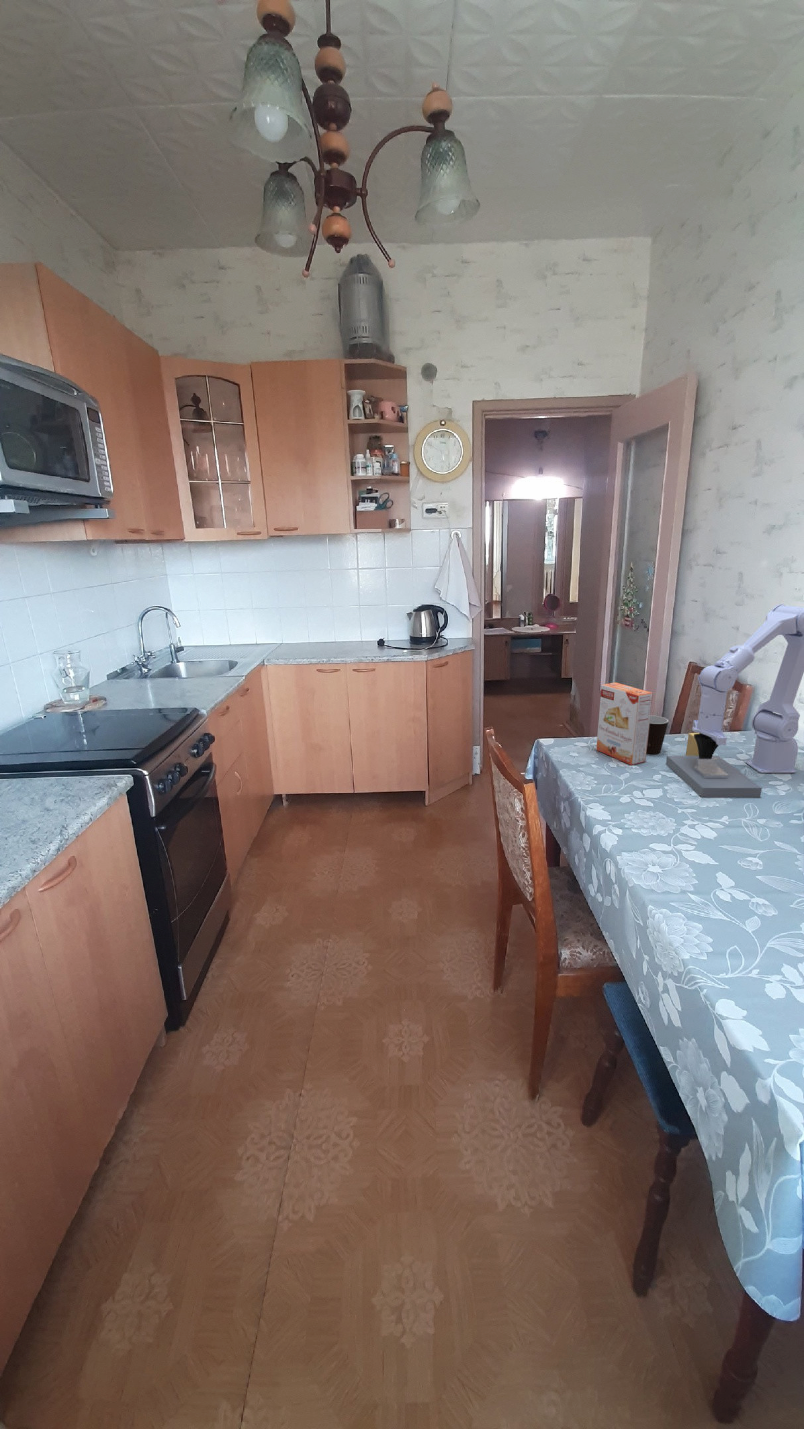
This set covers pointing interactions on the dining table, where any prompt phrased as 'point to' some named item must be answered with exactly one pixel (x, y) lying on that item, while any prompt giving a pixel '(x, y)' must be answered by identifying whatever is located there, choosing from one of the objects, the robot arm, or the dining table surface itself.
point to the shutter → (709, 768)
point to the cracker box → (624, 722)
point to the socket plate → (713, 779)
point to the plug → (692, 746)
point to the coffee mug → (656, 734)
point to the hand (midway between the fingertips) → (704, 761)
